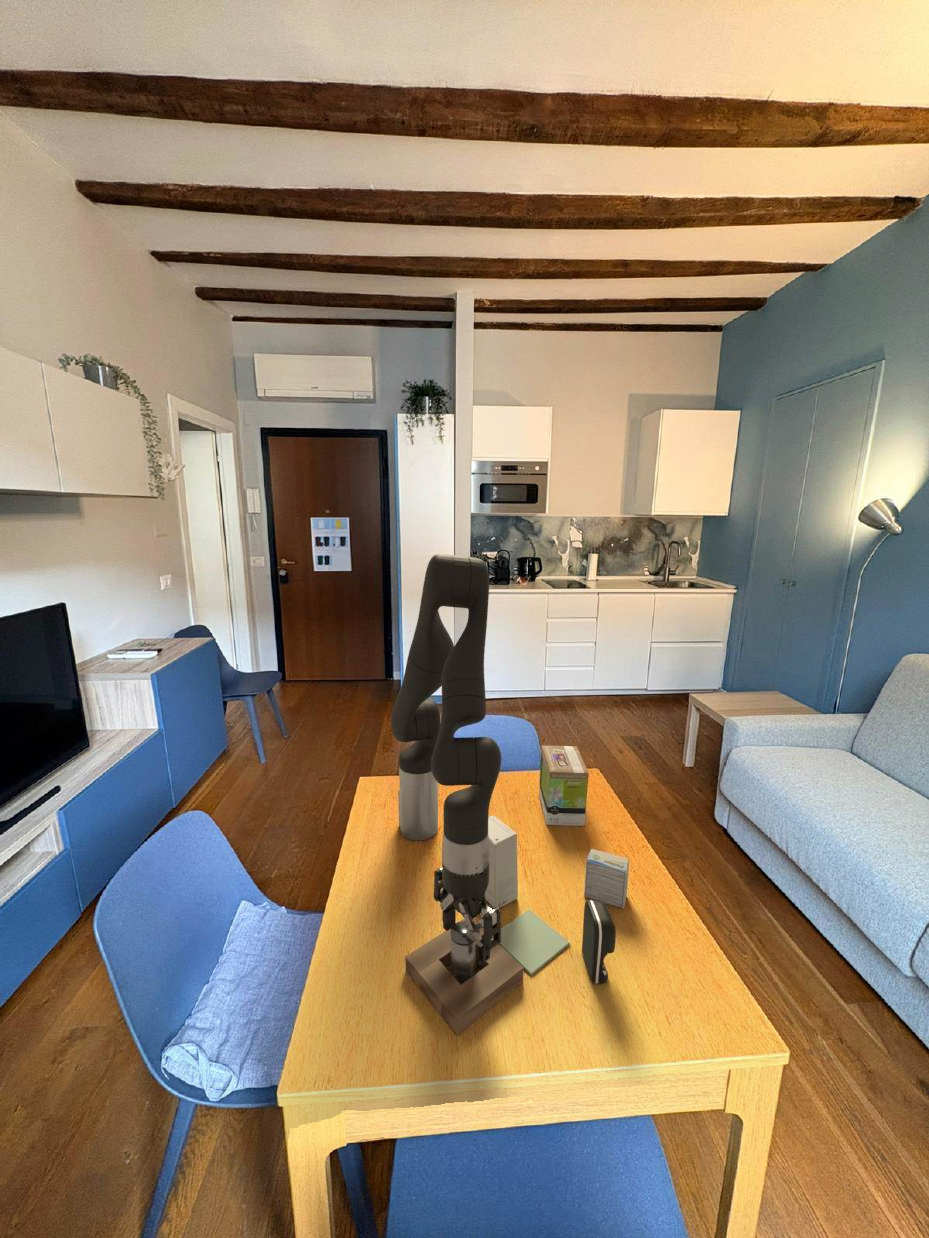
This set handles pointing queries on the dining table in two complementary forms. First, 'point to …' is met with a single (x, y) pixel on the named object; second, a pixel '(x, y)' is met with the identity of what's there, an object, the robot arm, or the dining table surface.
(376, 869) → the dining table surface
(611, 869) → the medicine box
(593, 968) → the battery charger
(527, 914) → the mat
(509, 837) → the skincare box
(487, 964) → the bore block
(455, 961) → the shiny metal cylinder
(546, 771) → the tea box
